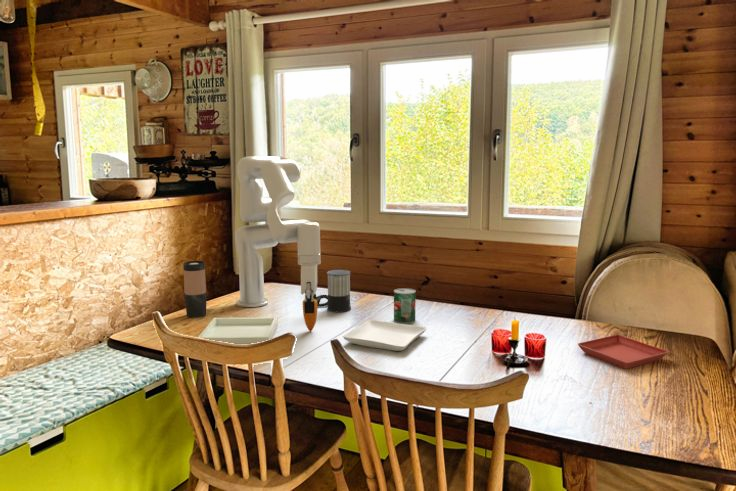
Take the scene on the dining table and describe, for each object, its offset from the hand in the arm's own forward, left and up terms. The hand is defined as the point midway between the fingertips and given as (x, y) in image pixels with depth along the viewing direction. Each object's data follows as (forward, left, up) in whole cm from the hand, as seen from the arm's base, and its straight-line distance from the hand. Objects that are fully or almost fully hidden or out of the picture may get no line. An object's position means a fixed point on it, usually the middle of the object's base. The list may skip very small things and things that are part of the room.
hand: (310, 309), depth 192 cm
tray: (+4, -23, -8) cm, 25 cm away
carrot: (0, 0, -8) cm, 8 cm away
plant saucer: (+27, +94, -8) cm, 98 cm away
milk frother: (-30, +6, -8) cm, 32 cm away
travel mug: (-21, -44, -8) cm, 50 cm away
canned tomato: (-12, +33, -8) cm, 36 cm away
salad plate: (+10, +25, -8) cm, 28 cm away
